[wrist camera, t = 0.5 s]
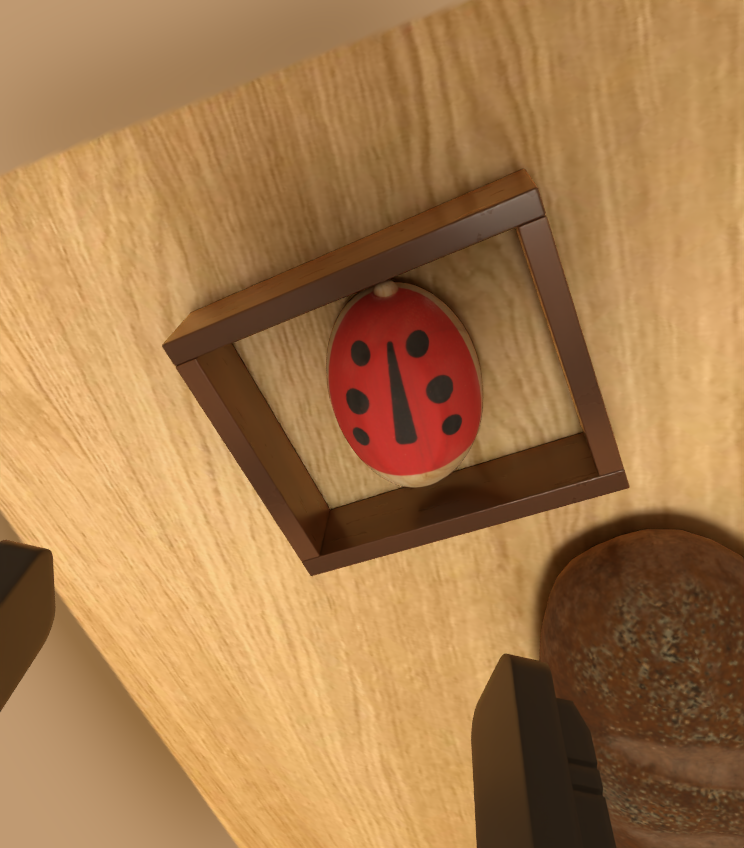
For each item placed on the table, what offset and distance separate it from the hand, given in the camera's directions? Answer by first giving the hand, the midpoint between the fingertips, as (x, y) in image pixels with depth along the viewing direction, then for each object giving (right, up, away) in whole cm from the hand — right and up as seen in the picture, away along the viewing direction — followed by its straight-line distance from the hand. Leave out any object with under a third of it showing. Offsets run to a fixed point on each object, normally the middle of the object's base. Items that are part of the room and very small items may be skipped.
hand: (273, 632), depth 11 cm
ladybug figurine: (+3, +6, +18) cm, 19 cm away
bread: (+22, -15, +28) cm, 39 cm away
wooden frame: (+3, +6, +17) cm, 19 cm away
